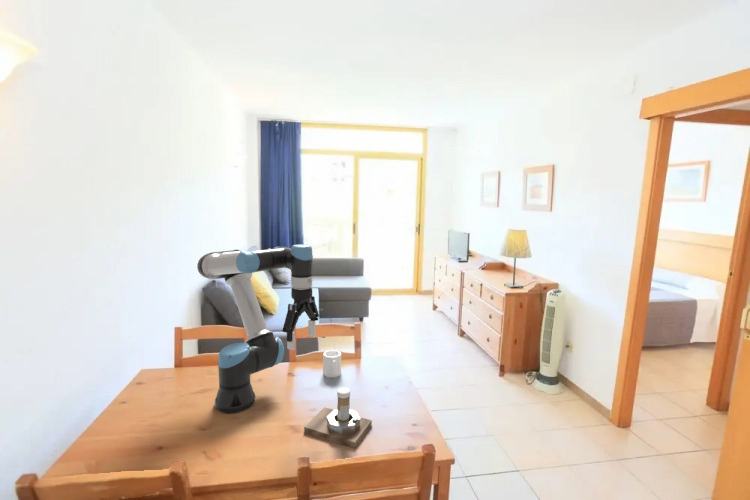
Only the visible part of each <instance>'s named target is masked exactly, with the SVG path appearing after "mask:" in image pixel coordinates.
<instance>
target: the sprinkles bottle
mask: <svg viewBox="0 0 750 500" xmlns="http://www.w3.org/2000/svg"><path fill="white" fill-rule="evenodd" d="M336 392H337V393H336V394H337V395H336V396H337V408H336V410H337V422H340V423H346V422H349V411H350V410H351V409H350V403H351V402H350V398H351V397H350V396H351V389H350V388H348V387H346V386H345V387H340V388H338V389H337V391H336Z"/></svg>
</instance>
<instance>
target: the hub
mask: <svg viewBox="0 0 750 500" xmlns="http://www.w3.org/2000/svg"><path fill="white" fill-rule="evenodd" d="M332 410H333V411H332V412H331V413H330V414H329V415H328V416H327V426H328V428H329V430H330V432H333V433H336V434H339V435H346V434H350V433H354V432H355V431H356V430H357V429H358V427H359V426H360V417H361V416H359V413H358V412H357V410H353V409H350V411H349V421H350V422H346V423H340V422H337V409H332Z"/></svg>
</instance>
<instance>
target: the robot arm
mask: <svg viewBox="0 0 750 500" xmlns="http://www.w3.org/2000/svg"><path fill="white" fill-rule="evenodd" d="M313 258H314V255H313V247H312V246H311V245H310V244H301V243H300V244H293V245H291V248H290V247H286V246H275V247H273V248H269V249H259V250H258V249H257V250H245V249H233V250H231V249H230V250H223V251H222V250H221V251H212V252H209V253H205V254H204V255H203V256H201V257H200V258H199V259H198V262H197V263H196V264H197V267H196V268H197V271H198V273H199V274H200V276H201V277H203V278H206V279H208V280H218V279H219V280H220V279H224V282H225V284H227V285H229V286H230V288H231V291H232V294H233V296H234V300H235V303H236V306H237V308H238V311H239V314H240V318H241V321H242V324H243V327H244V330H245V334H246V335H247V338H246V339H245V341H244V342H241V341H239V342H234V343H231V344H228V345H226V346H224V347H222V349H221V350H220V352H219V353H218V357H217V366H218V367H217V368H218V390H217V393H216V397H215V399H214V408H215V410H216V411H217V412H219V413H221V414H229V415H230V414H238V413H243V412H245V411H247V410H249V409H250V408H252V407H253V406H254V405H255V404H256V393H255V391H254V390H253V389H254V388H253V385H252V382H251V375H253V374H256V373H258V372H260V371H261V372H262V371H263V370H266V369H269V368H272V367H274V366H277V365H278V364H280V363H281V362H282V361H283V359H284V354H285V348H284V343H283V341H282V339H281V338H280V337H279V336H277V335H276V336H275V334H274V332H273V331H272V330H270V329H268V327H267V323H266V321H265V317H264V315H263V312H262V309H261V305H260V303H259V301H258V298H257V294H256V291H255V289H254V286H253V283H252V280H251V279H252V277H253V273H254V274H255V273H257V272H258V273H259V272H264V271H265V272H266V271H272V270H276V269H277V270H278V269H289V270H290V273H291V274H290V275H291V276H290V279H291V280H290V281H291V282H290V286H291V292H290V295H291V296H290V297H291V298H292V300H293V303H288V304H287V312H286V316H285V319H284V323H283V328H282V330H281V331H282V332H283V333H286V342H287V344H286V347H287V348H286V349H287V350H290V351H295V349H296V348H295V347H296V337H295V336H296V332H295V331H294V330H295V328H296V326H297V324H298V321H299V318H300V317H301V316H302V314H303V313H305V314H306V316H307V317H308V321H307V324H308V326H307V328H308V331H307V333H308V334H307V337H310V338H313V339H315V338H316V321H319V317H320V314H319V310H318V307H317V305H316V299H315V296H314V295H313V287H312V286H313Z"/></svg>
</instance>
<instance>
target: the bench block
mask: <svg viewBox="0 0 750 500" xmlns="http://www.w3.org/2000/svg"><path fill="white" fill-rule="evenodd" d="M333 410H334V409H332V408H328V407H323V408H322V409H321V410H320V411H319V412H318V413H316V415H315V416H314V417H312V419H311V420H310V421H309V422H308V423H307V424H305V425H304V426H303V432H304V433H306V434H308V435H312V436H314V437H319V438H322V439H325V440H327V441H331V442H333V443H338V444H341V445H344V446H347V447H351V448H354V449H355V448H357V446H358V444H359V443H360V442H361V441H362V439H363V437H364V436H365V435H366V434H367V432H368V431H369V429H370V428H371V426H372V423H373V422H372V420H371V419H369V418H364V417H361V416H359V417H360V426H359V427H358V429H357V430H356V431H355V432H354V433H350V434H346V435H339V434H336V433H333V432H330V430H329V428H328V426H327V416H328V415H329V414H330V413H331V412H332V411H333ZM349 422H350V421H349Z"/></svg>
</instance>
